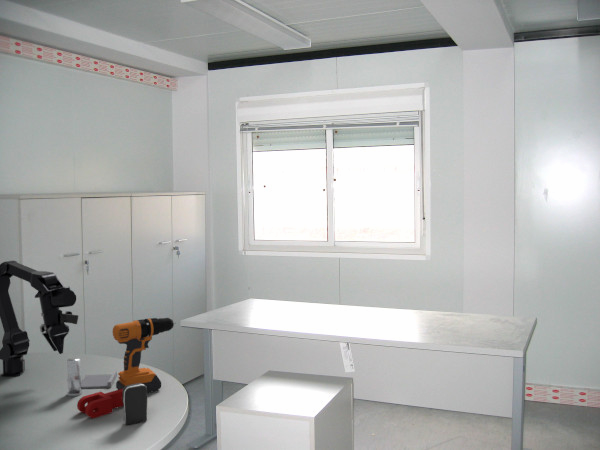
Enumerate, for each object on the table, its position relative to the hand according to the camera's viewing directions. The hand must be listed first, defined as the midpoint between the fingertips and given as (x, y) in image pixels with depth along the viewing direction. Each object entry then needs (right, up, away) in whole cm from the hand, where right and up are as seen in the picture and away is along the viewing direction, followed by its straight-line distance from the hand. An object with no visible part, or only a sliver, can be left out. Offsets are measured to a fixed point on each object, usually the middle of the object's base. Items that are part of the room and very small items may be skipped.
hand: (58, 352), depth 208 cm
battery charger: (+35, -15, -29) cm, 48 cm away
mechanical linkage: (+24, -14, -21) cm, 34 cm away
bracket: (+13, -11, +3) cm, 17 cm away
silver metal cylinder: (+9, -12, -9) cm, 18 cm away
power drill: (+32, -12, -4) cm, 34 cm away
